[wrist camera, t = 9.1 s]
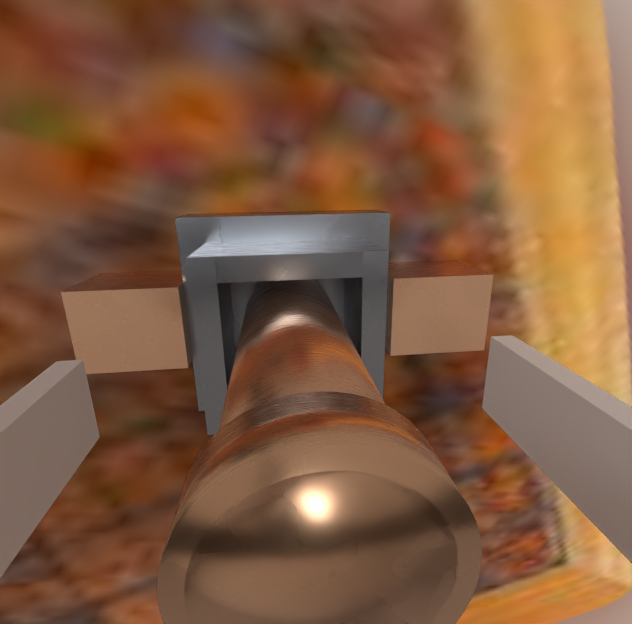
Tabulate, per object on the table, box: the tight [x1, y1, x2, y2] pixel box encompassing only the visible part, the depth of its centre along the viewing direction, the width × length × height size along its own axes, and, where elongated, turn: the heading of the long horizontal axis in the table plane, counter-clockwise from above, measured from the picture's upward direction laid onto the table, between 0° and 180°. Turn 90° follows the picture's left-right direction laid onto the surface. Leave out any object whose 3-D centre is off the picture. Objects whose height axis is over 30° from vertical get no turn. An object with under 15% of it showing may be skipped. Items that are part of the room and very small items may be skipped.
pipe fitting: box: [157, 279, 482, 624], centre depth 13 cm, size 5×5×14 cm
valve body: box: [61, 210, 493, 435], centre depth 20 cm, size 20×15×7 cm
